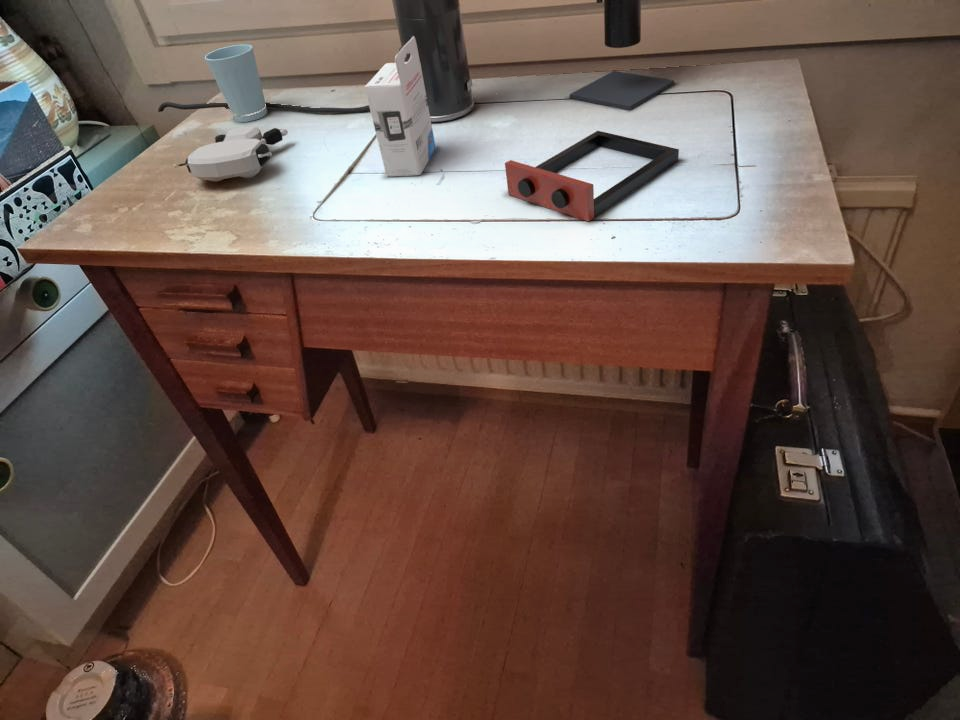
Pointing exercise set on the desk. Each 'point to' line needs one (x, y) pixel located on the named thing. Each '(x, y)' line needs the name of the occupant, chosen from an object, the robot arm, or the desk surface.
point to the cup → (238, 80)
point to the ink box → (401, 114)
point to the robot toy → (233, 154)
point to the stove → (577, 194)
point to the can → (622, 23)
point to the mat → (622, 90)
